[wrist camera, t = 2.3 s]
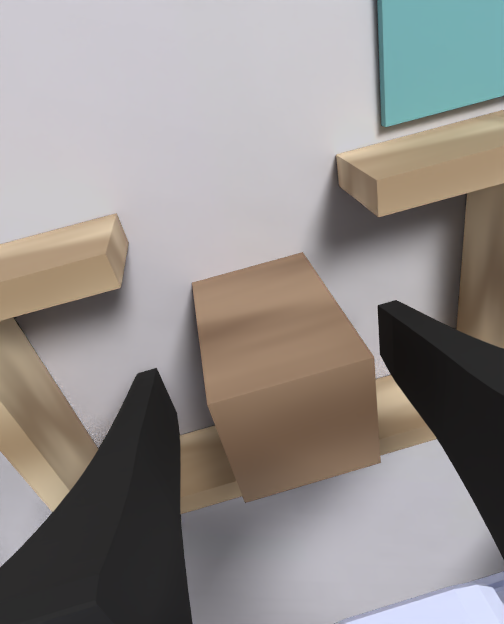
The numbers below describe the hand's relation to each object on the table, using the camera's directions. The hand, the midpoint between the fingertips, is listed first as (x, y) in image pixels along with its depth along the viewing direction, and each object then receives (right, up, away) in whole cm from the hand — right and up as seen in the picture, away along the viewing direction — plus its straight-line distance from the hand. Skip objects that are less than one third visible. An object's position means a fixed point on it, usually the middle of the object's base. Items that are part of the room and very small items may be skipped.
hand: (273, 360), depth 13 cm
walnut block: (0, +1, +2) cm, 3 cm away
